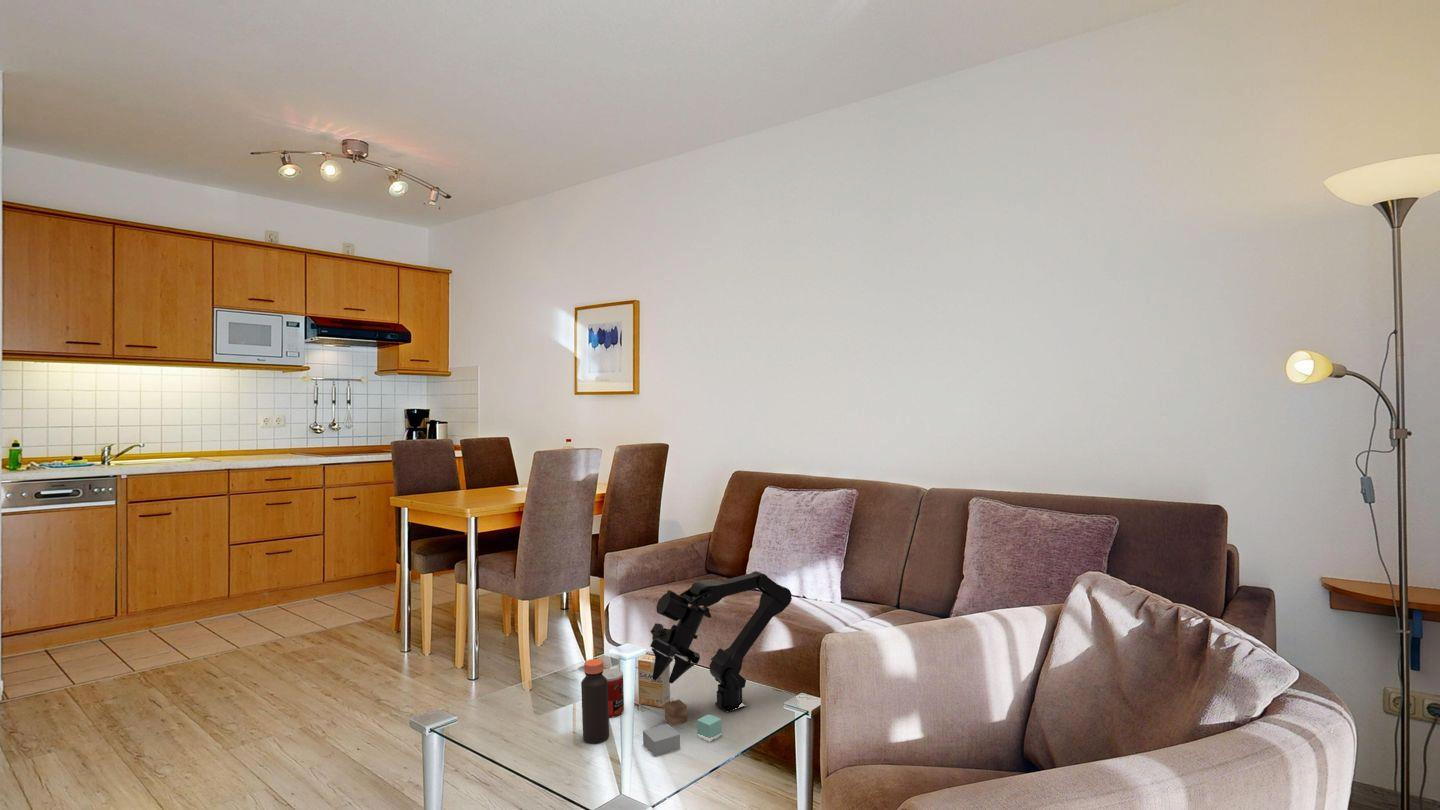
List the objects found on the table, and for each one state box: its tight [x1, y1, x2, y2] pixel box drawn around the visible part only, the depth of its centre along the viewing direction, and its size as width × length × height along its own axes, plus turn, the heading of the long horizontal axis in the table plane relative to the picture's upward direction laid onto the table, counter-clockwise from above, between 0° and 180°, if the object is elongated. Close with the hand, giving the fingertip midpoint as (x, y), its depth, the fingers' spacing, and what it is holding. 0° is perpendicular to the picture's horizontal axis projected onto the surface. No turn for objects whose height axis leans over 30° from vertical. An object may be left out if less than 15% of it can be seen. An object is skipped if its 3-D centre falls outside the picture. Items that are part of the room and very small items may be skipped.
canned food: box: [602, 668, 625, 719], centre depth 209 cm, size 8×8×11 cm
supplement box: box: [637, 653, 671, 709], centre depth 214 cm, size 8×5×13 cm, turn 67°
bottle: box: [580, 658, 610, 744], centre depth 194 cm, size 7×7×20 cm
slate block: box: [642, 723, 681, 758], centre depth 189 cm, size 7×7×4 cm
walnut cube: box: [663, 698, 688, 727], centre depth 203 cm, size 4×4×4 cm
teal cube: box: [696, 713, 723, 738], centre depth 194 cm, size 4×4×4 cm
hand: (662, 681), depth 201 cm, fingers open, 9 cm apart
